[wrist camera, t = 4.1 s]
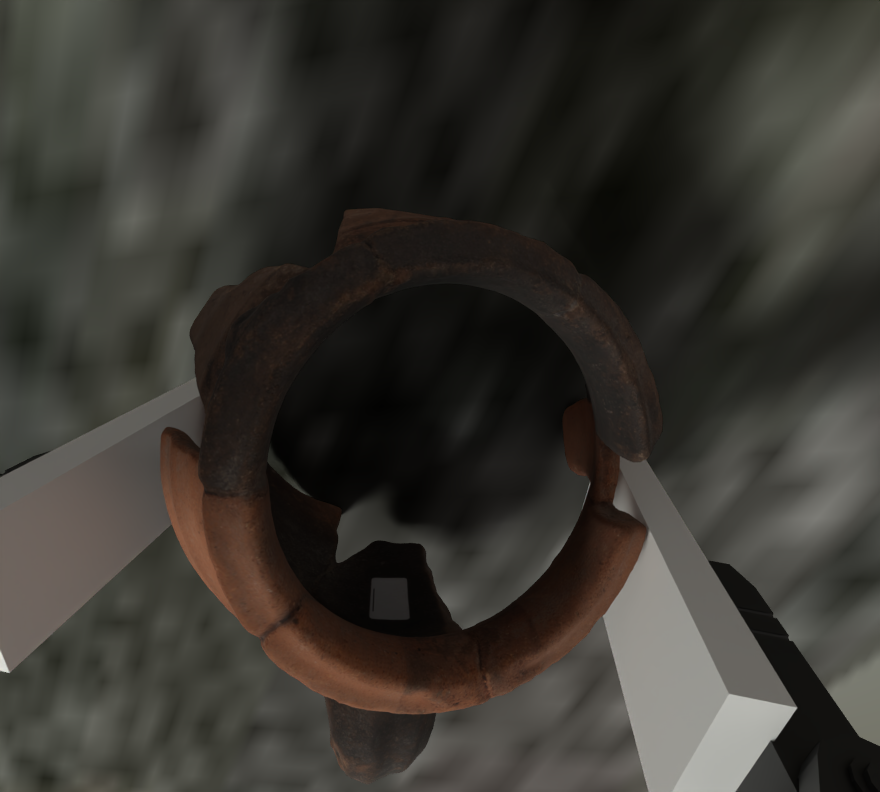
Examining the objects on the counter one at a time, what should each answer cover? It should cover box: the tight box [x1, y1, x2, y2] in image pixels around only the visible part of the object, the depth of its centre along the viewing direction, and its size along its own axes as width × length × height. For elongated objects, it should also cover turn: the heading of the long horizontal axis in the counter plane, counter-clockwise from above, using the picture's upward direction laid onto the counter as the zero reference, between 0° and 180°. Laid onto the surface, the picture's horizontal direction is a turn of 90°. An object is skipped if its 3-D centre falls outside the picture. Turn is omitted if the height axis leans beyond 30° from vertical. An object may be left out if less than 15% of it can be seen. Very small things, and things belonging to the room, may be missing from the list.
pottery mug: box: [160, 208, 663, 784], centre depth 10 cm, size 12×10×8 cm
